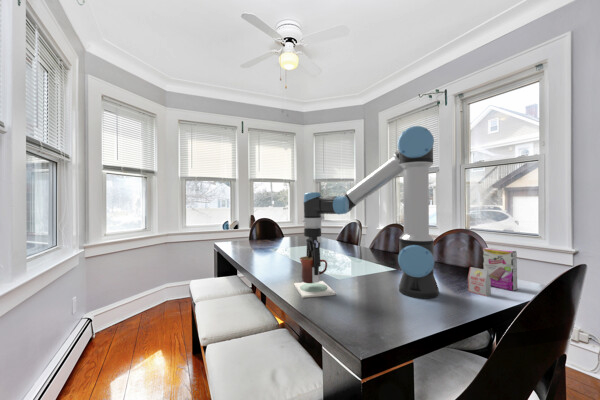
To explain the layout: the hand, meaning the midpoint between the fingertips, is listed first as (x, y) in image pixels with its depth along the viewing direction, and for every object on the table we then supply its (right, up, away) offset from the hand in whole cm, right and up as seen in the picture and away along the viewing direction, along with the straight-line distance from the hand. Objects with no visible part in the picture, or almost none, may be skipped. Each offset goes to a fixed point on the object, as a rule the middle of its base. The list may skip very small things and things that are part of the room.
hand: (313, 279), depth 116 cm
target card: (0, -4, 0) cm, 4 cm away
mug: (0, -1, -1) cm, 1 cm away
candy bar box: (+81, -3, -1) cm, 81 cm away
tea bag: (+67, -3, -8) cm, 68 cm away
